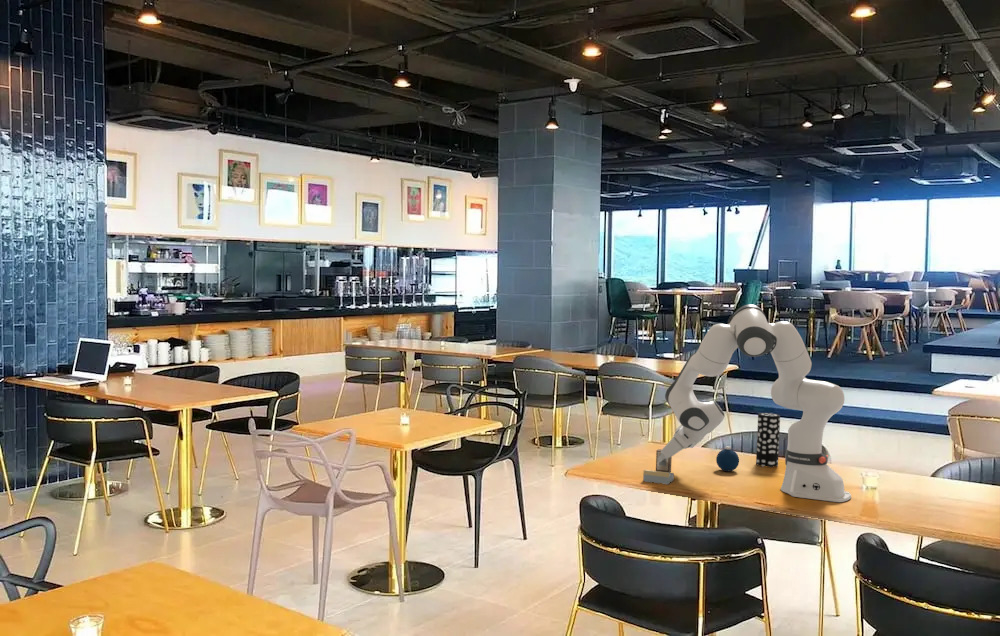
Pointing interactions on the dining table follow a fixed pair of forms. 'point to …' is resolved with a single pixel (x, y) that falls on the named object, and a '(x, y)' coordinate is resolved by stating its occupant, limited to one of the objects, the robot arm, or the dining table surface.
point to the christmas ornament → (727, 459)
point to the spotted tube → (768, 439)
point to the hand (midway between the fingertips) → (660, 459)
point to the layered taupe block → (663, 463)
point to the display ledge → (658, 476)
